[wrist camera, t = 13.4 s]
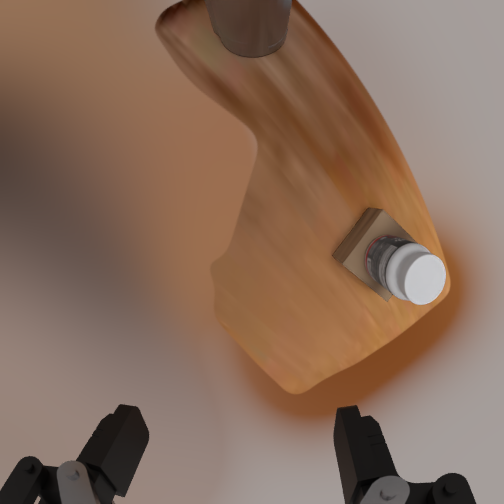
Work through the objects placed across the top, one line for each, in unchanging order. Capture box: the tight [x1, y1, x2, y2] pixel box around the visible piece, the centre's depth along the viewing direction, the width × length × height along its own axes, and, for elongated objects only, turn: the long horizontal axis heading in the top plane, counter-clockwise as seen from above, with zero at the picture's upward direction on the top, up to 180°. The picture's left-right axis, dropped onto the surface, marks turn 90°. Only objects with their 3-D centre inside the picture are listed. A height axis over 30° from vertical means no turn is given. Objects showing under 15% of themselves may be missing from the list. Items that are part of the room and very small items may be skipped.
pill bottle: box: [365, 235, 446, 305], centre depth 27 cm, size 6×6×10 cm
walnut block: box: [332, 208, 417, 301], centre depth 34 cm, size 8×8×5 cm
